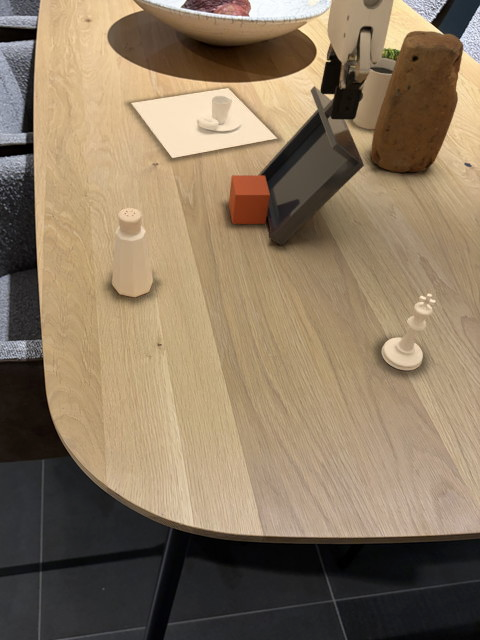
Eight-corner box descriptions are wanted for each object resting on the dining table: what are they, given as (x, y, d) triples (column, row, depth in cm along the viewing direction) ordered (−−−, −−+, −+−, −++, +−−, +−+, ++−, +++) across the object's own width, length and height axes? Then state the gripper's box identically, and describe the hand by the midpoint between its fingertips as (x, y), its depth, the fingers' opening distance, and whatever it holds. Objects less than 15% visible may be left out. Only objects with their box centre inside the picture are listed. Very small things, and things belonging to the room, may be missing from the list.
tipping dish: (367, 76, 84) (339, 51, 81) (397, 133, 74) (366, 106, 71) (267, 184, 96) (239, 165, 94) (281, 245, 87) (251, 226, 84)
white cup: (390, 130, 110) (408, 74, 102) (355, 130, 109) (370, 74, 102) (380, 112, 114) (396, 57, 107) (346, 112, 114) (360, 57, 106)
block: (366, 168, 101) (403, 42, 86) (368, 146, 106) (403, 22, 91) (431, 179, 100) (481, 53, 85) (430, 156, 105) (477, 33, 90)
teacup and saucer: (204, 137, 105) (205, 114, 102) (186, 116, 109) (187, 93, 106) (248, 129, 107) (251, 107, 104) (229, 108, 112) (231, 86, 109)
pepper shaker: (150, 269, 82) (149, 199, 73) (155, 296, 78) (155, 226, 70) (110, 271, 81) (105, 201, 72) (113, 299, 77) (108, 228, 69)
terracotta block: (231, 175, 89) (228, 204, 92) (235, 194, 85) (232, 224, 89) (265, 175, 89) (260, 204, 93) (270, 194, 86) (265, 223, 90)
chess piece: (387, 335, 76) (412, 274, 68) (425, 349, 75) (456, 289, 67) (376, 361, 73) (402, 300, 65) (416, 376, 72) (447, 316, 64)
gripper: (429, -31, 60) (380, 139, 74) (386, -79, 71) (350, 76, 85) (355, -33, 60) (320, 138, 73) (323, -81, 71) (298, 75, 84)
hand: (337, 104), depth 79 cm, fingers closed on tipping dish, 6 cm apart
